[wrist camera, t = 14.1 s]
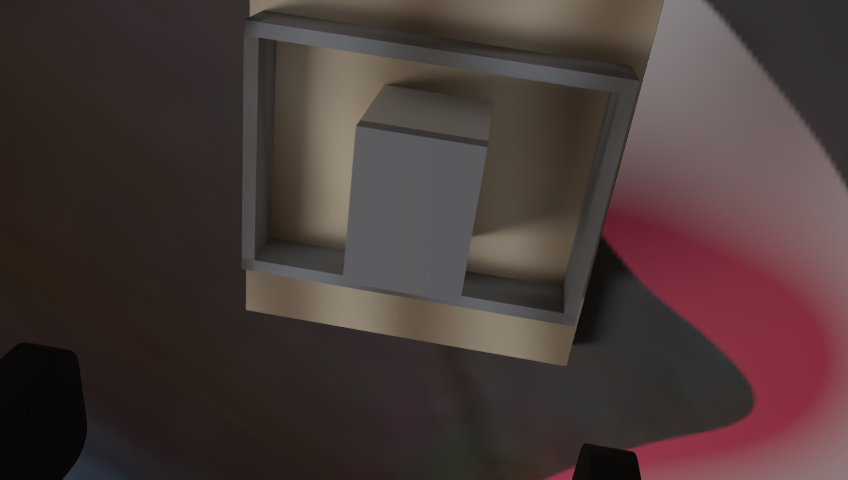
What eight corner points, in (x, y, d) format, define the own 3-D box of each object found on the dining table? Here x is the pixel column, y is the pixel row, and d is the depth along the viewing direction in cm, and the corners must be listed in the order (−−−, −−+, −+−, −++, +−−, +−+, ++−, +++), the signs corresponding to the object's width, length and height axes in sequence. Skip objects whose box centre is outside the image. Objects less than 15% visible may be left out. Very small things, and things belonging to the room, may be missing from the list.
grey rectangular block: (493, 101, 26) (487, 147, 21) (470, 236, 28) (460, 302, 24) (384, 84, 26) (356, 125, 22) (370, 220, 28) (342, 282, 24)
